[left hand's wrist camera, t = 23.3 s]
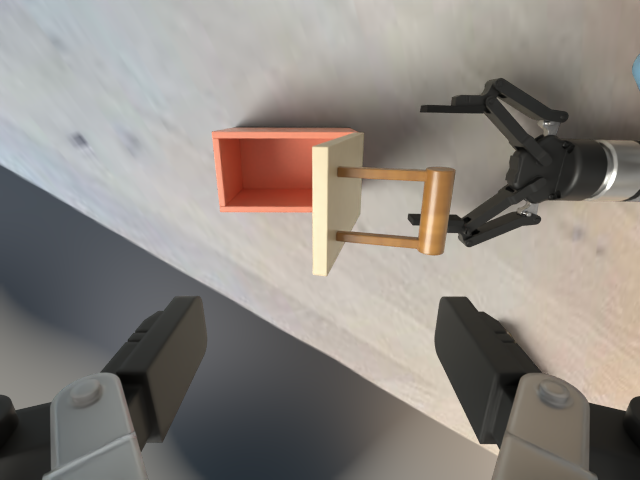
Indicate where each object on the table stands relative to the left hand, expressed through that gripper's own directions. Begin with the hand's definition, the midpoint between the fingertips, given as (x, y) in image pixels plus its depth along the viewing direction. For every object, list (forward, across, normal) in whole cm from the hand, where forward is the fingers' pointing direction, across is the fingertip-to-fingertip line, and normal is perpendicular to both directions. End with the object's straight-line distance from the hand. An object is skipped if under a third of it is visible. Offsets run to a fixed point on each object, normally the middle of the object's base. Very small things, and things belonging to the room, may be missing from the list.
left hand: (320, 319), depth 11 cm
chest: (+40, +4, 0) cm, 40 cm away
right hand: (+33, -12, 0) cm, 35 cm away
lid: (+20, -2, 0) cm, 20 cm away
